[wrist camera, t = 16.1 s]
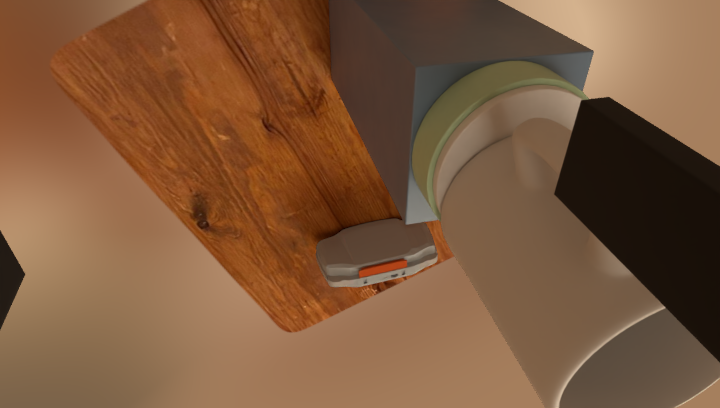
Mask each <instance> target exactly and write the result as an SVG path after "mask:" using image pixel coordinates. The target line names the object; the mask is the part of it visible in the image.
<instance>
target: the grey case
mask: <svg viewBox="0 0 720 408" xmlns="http://www.w3.org/2000/svg"><path fill="white" fill-rule="evenodd" d="M316 250H317V251H316V258H317V262H318V265H319V267H320V270H321V272H322V274H323V276H324V277H325V279H326V281H328V283H329V285H330V286H331V287H361V286H365V285H370V284H374V283H378V282H383V281H387V280H391V279H395V278H400V277H404V276H408V275H412V274H415V273H417V272H418V271H420V270H421V269H423V268H425V267H427V266H430V265H432V264H434V263H436V262H437V256H438V253H437V250H436V247H435V244H434V240H433V238H432V235H431V233H430V230H429V228H428V227H427V224H426V223H424V222H420V223H414V224H407V225H406V224H405V223H404V221H403V220H399V219H396V218H394V219H385V220H379V221H374V222H369V223H365V224H360V225H357V226H353V227H350V228H346V229H343V230H342V231H340V232H339V233H338V234H336V235H335V236H332V237H329V238H326V239H324V240H321V241H319V243H318V244H317V247H316Z"/></svg>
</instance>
